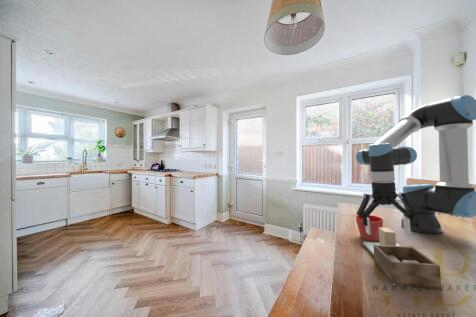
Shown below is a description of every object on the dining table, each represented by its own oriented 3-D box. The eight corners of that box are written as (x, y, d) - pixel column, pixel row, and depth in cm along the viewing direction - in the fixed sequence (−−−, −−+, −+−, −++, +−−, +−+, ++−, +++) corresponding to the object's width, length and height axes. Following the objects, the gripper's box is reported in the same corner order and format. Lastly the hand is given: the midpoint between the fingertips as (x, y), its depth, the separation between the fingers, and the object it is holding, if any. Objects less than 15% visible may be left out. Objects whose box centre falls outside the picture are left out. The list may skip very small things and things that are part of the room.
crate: (413, 266, 65) (412, 246, 65) (441, 289, 53) (439, 265, 53) (374, 263, 68) (373, 244, 68) (393, 285, 56) (391, 262, 56)
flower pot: (386, 244, 82) (384, 222, 82) (357, 240, 88) (355, 219, 88) (382, 235, 91) (381, 215, 91) (356, 232, 97) (355, 213, 97)
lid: (397, 248, 78) (395, 224, 78) (419, 265, 66) (417, 237, 66) (363, 246, 82) (361, 223, 82) (377, 262, 69) (375, 235, 69)
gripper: (413, 178, 75) (418, 230, 74) (345, 181, 81) (350, 229, 81) (427, 181, 67) (432, 238, 67) (351, 184, 74) (356, 236, 73)
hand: (387, 233), depth 74 cm, fingers open, 13 cm apart
